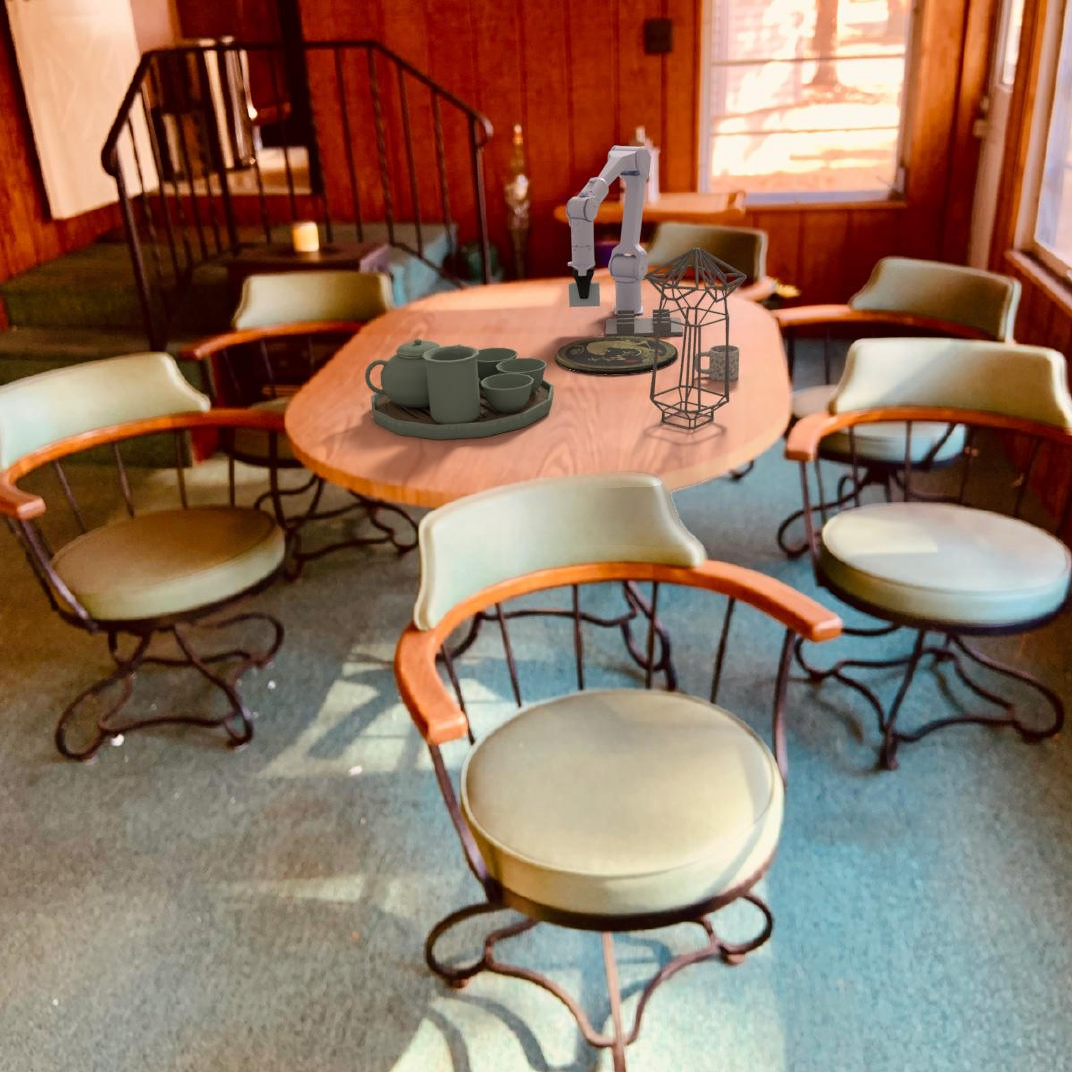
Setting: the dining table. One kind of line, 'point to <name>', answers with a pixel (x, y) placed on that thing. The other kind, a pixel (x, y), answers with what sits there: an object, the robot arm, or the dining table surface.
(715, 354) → the mug
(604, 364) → the decorative plate
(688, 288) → the geometric lantern
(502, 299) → the dining table surface
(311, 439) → the dining table surface
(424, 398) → the tea set
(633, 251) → the robot arm
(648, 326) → the grey slotted organizer
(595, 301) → the grey rectangular block
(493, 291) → the dining table surface
